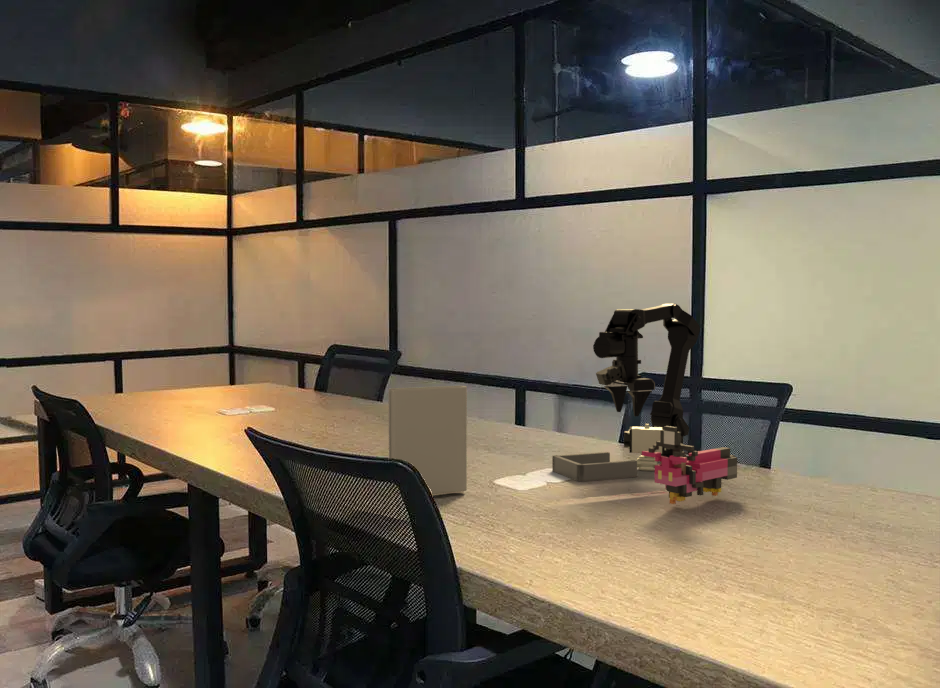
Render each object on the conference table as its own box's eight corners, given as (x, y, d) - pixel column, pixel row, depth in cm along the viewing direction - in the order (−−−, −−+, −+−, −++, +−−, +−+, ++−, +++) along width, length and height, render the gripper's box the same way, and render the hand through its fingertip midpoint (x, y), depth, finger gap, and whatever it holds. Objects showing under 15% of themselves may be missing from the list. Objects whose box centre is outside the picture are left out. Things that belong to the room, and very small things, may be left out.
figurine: (641, 502, 182) (642, 425, 182) (710, 486, 198) (711, 416, 197) (683, 511, 174) (684, 431, 173) (752, 494, 190) (753, 421, 189)
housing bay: (607, 466, 223) (607, 451, 223) (637, 476, 209) (637, 461, 209) (552, 471, 217) (552, 455, 217) (579, 481, 204) (579, 465, 203)
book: (394, 498, 185) (394, 390, 184) (388, 495, 189) (388, 388, 188) (469, 490, 193) (469, 386, 192) (462, 487, 197) (462, 385, 196)
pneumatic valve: (670, 472, 215) (670, 425, 215) (623, 470, 218) (624, 424, 217) (669, 468, 221) (669, 422, 220) (624, 466, 223) (624, 421, 223)
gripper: (583, 355, 231) (584, 411, 232) (617, 359, 213) (618, 420, 214) (619, 353, 234) (620, 409, 235) (655, 357, 217) (656, 418, 218)
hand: (627, 414), depth 225 cm, fingers open, 9 cm apart
